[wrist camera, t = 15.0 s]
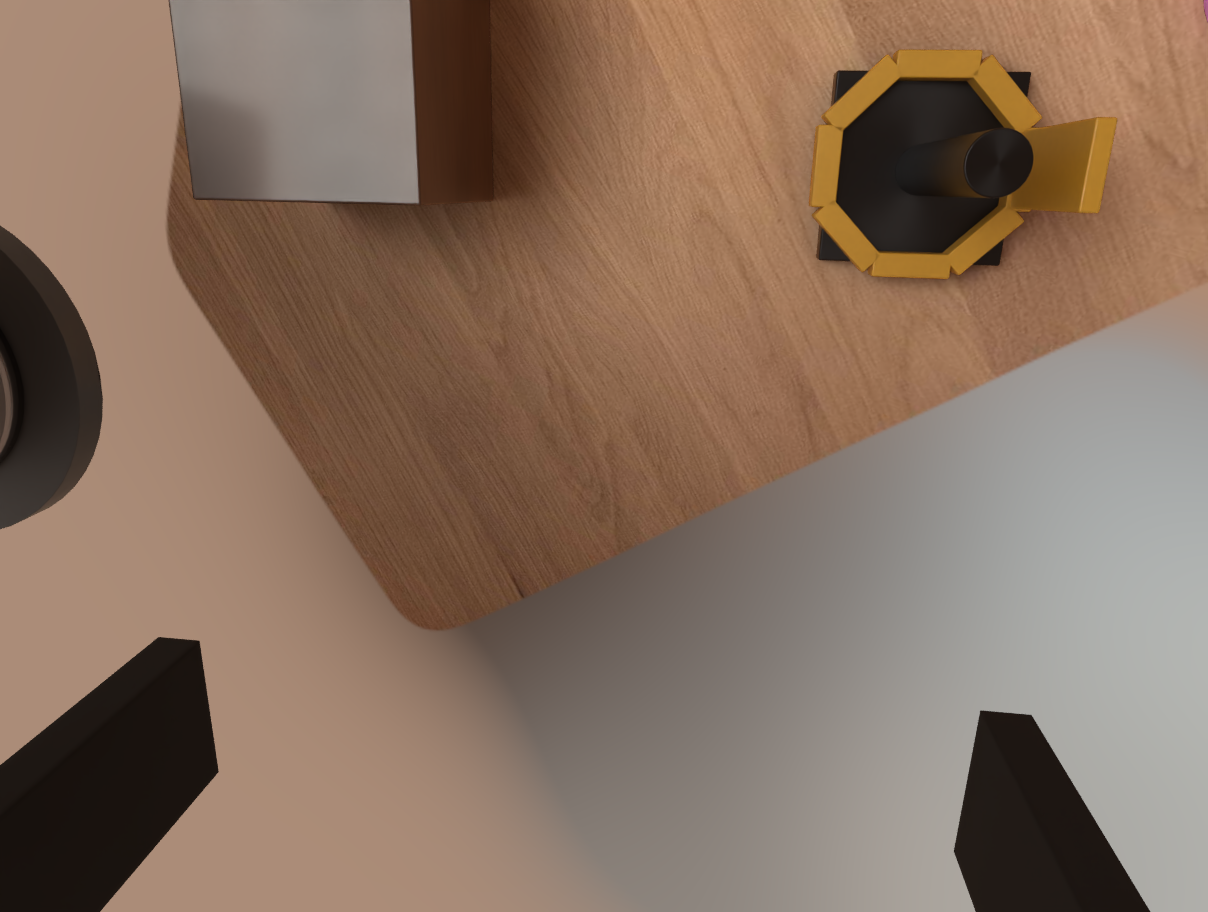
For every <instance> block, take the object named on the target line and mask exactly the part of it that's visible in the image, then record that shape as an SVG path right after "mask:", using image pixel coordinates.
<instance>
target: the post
mask: <svg viewBox="0 0 1208 912" xmlns="http://www.w3.org/2000/svg"><path fill="white" fill-rule="evenodd" d="M867 72H868V71H837V72H836V73H835V74H834V81H833V91H832V101H831V106H832V105H834V104H835V103H836V102H837V101H838V100H839V99H840V98H841V97H842V96H843V95H844V94H845V93H846V92H847V91H848V90H849V89H850V88H851V87H853V86H854V85H855V84H856V83H857V82H858V81H859V80H860V79H861V78H862V77H863V76H864V75H865V74H866V73H867ZM1007 73H1008V75H1009V76H1010V77H1011V78H1012V80H1013V81H1014V82H1015V84H1016V85H1017V86H1018V87H1019V89H1020V90H1021V91H1022V92H1023V94H1024V95H1025V96H1026V97H1027V95H1028V89H1029V83H1030V77H1031V72H1007ZM1033 160H1034V157H1033V150H1032V146H1031V144H1030V142H1029V141H1028V139H1027V138H1026V137H1025V136H1024V135H1023V134H1022V133H1020V132H1018V131H1017V130H1014V129H1010V128H1004V127H1003V125H1002V124H1001V123H1000V122H999V121H998V119H997V118H996V117H995V116H994V114H993V113H992V112H991V111H990V109H989V108H988V107H987V106H986V104H985V103H984V102H983V101H982V99H981V98H980V97H979V96H978V94H977V93H976V92H975V91H974V89H973V88H972V87H971V86H970V84H969V83H968V82H967V81H907V80H897V81H896V82H895V83H894V84H893V85H892V86H890V87H889V88H888V89H887V90H886V91H885V92H884V93H883V94H882V95H881V96H880V97H879V98H878V99H877V100H875V101H874V102H873V103H872V104H871V105H870V106H869V107H868V108H867V109H866V110H865V111H864V112H863V113H862V114H860V115H859V116H858V117H857V118H856V119H855V120H854V121H853V122H852V123H851V124H850V125H849V126H848V127H846V128H845V129H844V130H843V139H842V149H841V158H840V168H839V178H838V188H837V197H836V203H837V204H838V205H839V206H840V207H841V209H842V210H843V211H844V212H845V213H846V214H847V216H848V217H849V218H850V219H851V220H852V221H853V223H854V224H855V225H856V226H857V227H858V228H859V230H860V231H861V232H862V233H863V234H864V235H865V237H866V238H867V239H868V240H869V241H870V242H871V244H872V245H873V246H874V247H875V248H876V249H877V251H898V252H931V253H943V252H944V251H945V250H946V249H947V248H948V247H950V246H951V245H952V244H953V243H954V242H956V241H957V240H958V239H959V238H960V237H962V236H963V235H964V234H965V233H966V232H968V231H969V230H970V229H971V228H972V227H974V226H975V225H976V224H977V223H978V222H979V221H981V220H982V219H983V218H984V217H985V216H987V215H988V214H989V213H990V212H991V211H993V210H994V209H995V208H996V207H997V206H998V203H999V198H1000V197H1004V196H1007V195H1009V194H1011V193H1013V192H1015V191H1016V190H1018V189H1019V188H1020V187H1021V186H1022V185H1023V184H1024V183H1025V181H1026V180H1027V178H1028V177H1029V175H1030V173H1031V170H1032V167H1033ZM1003 240H1004V239H1003ZM1003 240H1001V241H1000V242H999V243H998V244H997V245H995V246H994V247H993V248H992V249H991V250H989V251H988V252H987V253H986V254H984V255H983V256H982V257H981V258H980V259H978V260H977V261H976V262H975V263H974V264H972V265H992V266H998V265H999V264H1000V258H1001V252H1002V246H1003ZM816 258H817V259H819V260H834V261H850V260H849V258H848V257H847V256H846V255H845V254H844V253H843V251H842V250H841V249H840V248H839V247H838V246H837V244H836V243H835V242H834V241H833V240H832V239H831V238H830V236H829V235H828V234H827V233H826V232H825V231H824V229H823V228H822V227H821V226H820V225H819V234H818V244H817V254H816Z"/></svg>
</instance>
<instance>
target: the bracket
mask: <svg viewBox="0 0 1208 912" xmlns="http://www.w3.org/2000/svg"><path fill="white" fill-rule="evenodd" d="M1204 10H1205V14H1206V18H1207V21H1208V0H1204Z"/></svg>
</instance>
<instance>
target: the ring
mask: <svg viewBox="0 0 1208 912" xmlns="http://www.w3.org/2000/svg"><path fill="white" fill-rule="evenodd" d="M981 59H982V50H898V51H897V52H895V53H894V54H893V59H892V58H891V57H890V56H889V55H886V56H885V57H883V58H882V59H881V60H880V61H879V62H878V63H877V64H876V65H875V66H874V67H873V68H872V69H870V70H869V71H868V72H867V73H866V74H865V75H864V76H863V77H862V78H861V79H860V80H859V81H858V82H857V83H856V84H855V85H854V86H853V87H851V88H850V89H849V90H848V91H847V92H846V93H845V94H844V95H843V96H842V97H841V98H840V99H839V100H838V101H837V102H836V103H835V104H834V105H832V106H831V107H830V108H829V109H828V110H827V111H826V112H825V113H824V114H823V115H822V116H821V118H822V119H823V120H824V121H825V123H826V124H827V125H818V126H817V127H816V132H815V142H814V153H813V164H812V174H811V185H810V196H809V206H811V207H820V208H819V209H817V210H816V211H815V212H814V213H813V214H812V217H813V218H814V219H815V220H816V221H817V222H818V224H819V225H820V226H821V227H822V228H823V229H824V231H825V232H826V233H827V234H828V235H829V236H830V238H831V239H832V240H833V241H834V242H835V243H836V244H837V246H838V247H839V248H840V249H841V250H842V251H843V253H844V254H845V255H846V256H847V257H848V258H849V260H850V261H851V262H852V263H853V264H854V265H855V266H856V268H857V269H858V270H860V271H861V272H864V271H865V270H866V269H867V268H868V274H869V275H871V276H873V277H902V278H932V279H948V278H949V276H950V271H951V272H952V273H954V274H957V275H960V274H961V273H963V272H964V271H965V270H966V269H967V268H969V267H970V266H971V265H972V264H974V263H975V262H976V261H977V260H978V259H980V258H981V257H982V256H983V255H984V254H986V253H987V252H988V251H989V250H991V249H992V248H993V247H994V246H995V245H997V244H998V243H999V242H1000V241H1001V240H1003V239H1004V238H1005V237H1006V236H1008V235H1009V234H1010V233H1011V232H1012V231H1014V230H1015V229H1016V228H1017V227H1018V226H1020V225H1021V224H1022V223H1023V222H1024V220H1023V219H1022V217H1021V216H1020V215H1019V214H1018V212H1030V211H1031V210H1043V211H1058V212H1073V213H1098V212H1099V210H1100V205H1101V200H1102V195H1103V190H1104V185H1105V180H1106V175H1107V170H1108V165H1109V160H1110V155H1111V150H1112V144H1113V139H1114V134H1115V129H1116V124H1117V118H1115V117H1096V118H1091V119H1085V120H1080V121H1075V122H1069V123H1064V124H1058V125H1053V126H1048V127H1042V128H1031V127H1032V126H1034V125H1035V124H1036V123H1037V122H1038V121H1039V120H1041V119H1042V116H1041V115H1040V114H1039V112H1038V111H1037V110H1036V109H1035V107H1034V106H1033V105H1032V104H1031V102H1030V101H1029V100H1028V99H1027V97H1026V96H1025V95H1024V94H1023V92H1022V91H1021V90H1020V89H1019V87H1018V86H1017V85H1016V84H1015V82H1014V81H1013V80H1012V78H1011V77H1010V76H1009V75H1008V73H1007V72H1006V71H1005V70H1004V68H1003V67H1002V66H1001V65H1000V63H999V62H998V61H997V60H996V58H995V57H994V56H993V55H990V56H988V57H986V58H984V59H983V60H982V61H981ZM897 80H907V81H967V82H968V83H969V84H970V86H971V87H972V88H973V89H974V91H975V92H976V93H977V94H978V96H979V97H980V98H981V99H982V101H983V102H984V103H985V104H986V106H987V107H988V108H989V109H990V111H991V112H992V113H993V114H994V116H995V117H996V118H997V119H998V121H999V122H1000V123H1001V124H1002V125H1003V127H1004V128H1010V129H1014V130H1017V131H1018V132H1020V133H1022V134H1023V135H1024V136H1025V137H1026V138H1027V139H1028V141H1029V142H1030V144H1031V146H1032V150H1033V157H1034V160H1033V167H1032V170H1031V173H1030V175H1029V177H1028V178H1027V180H1026V181H1025V183H1024V184H1023V185H1022V186H1021V187H1020V188H1019V189H1018V190H1016V191H1015V192H1013V193H1011V194H1009V195H1007V196H1004V197H1000V198H999V203H998V206H997V207H996V208H995V209H994V210H993V211H991V212H990V213H989V214H988V215H987V216H985V217H984V218H983V219H982V220H981V221H979V222H978V223H977V224H976V225H975V226H974V227H972V228H971V229H970V230H969V231H968V232H966V233H965V234H964V235H963V236H962V237H960V238H959V239H958V240H957V241H956V242H954V243H953V244H952V245H951V246H950V247H948V248H947V249H946V250H945V251H944V252H943V253H931V252H898V251H877V249H876V248H875V247H874V246H873V245H872V244H871V242H870V241H869V240H868V239H867V238H866V237H865V235H864V234H863V233H862V232H861V231H860V230H859V228H858V227H857V226H856V225H855V224H854V223H853V221H852V220H851V219H850V218H849V217H848V216H847V214H846V213H845V212H844V211H843V210H842V209H841V207H840V206H839V205H838V204H837V203H836V197H837V188H838V178H839V168H840V158H841V149H842V139H843V130H844V129H845V128H846V127H848V126H849V125H850V124H851V123H852V122H853V121H854V120H855V119H856V118H857V117H858V116H859V115H860V114H862V113H863V112H864V111H865V110H866V109H867V108H868V107H869V106H870V105H871V104H872V103H873V102H874V101H875V100H877V99H878V98H879V97H880V96H881V95H882V94H883V93H884V92H885V91H886V90H887V89H888V88H889V87H890V86H892V85H893V84H894V83H895V82H896V81H897Z"/></svg>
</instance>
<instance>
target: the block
mask: <svg viewBox="0 0 1208 912" xmlns="http://www.w3.org/2000/svg"><path fill="white" fill-rule="evenodd" d="M169 7H170V15H171V22H172V31H173V39H174V47H175V55H176V63H177V71H178V79H179V87H180V95H181V103H182V111H183V119H184V127H185V135H186V143H187V151H188V158H189V166H190V174H191V182H192V190H193V198H194V199H196V200H231V201H269V202H308V203H347V204H386V205H434V204H452V203H469V202H486V201H493V151H492V98H491V45H490V0H169Z"/></svg>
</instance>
